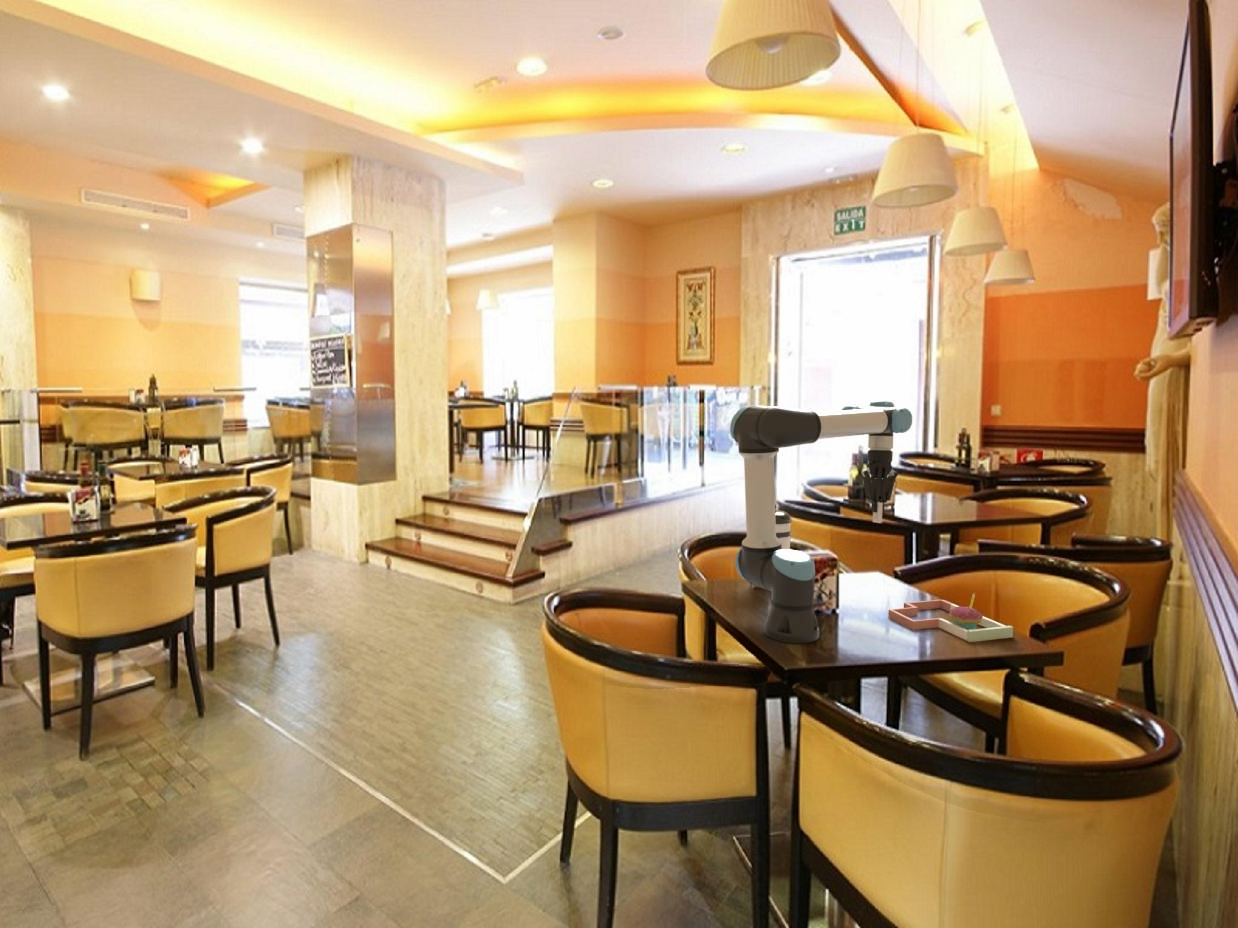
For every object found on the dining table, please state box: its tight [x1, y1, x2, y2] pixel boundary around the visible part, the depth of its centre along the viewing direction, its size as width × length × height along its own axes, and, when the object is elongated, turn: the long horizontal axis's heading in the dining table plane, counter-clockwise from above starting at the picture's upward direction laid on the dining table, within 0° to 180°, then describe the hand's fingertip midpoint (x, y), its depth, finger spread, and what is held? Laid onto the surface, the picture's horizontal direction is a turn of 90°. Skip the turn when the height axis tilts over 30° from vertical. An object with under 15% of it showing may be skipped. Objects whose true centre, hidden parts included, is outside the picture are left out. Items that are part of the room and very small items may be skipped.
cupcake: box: [948, 591, 984, 630], centre depth 199 cm, size 9×8×12 cm
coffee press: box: [749, 504, 793, 590], centre depth 239 cm, size 17×16×30 cm
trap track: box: [887, 599, 1014, 643], centre depth 205 cm, size 23×28×3 cm
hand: (877, 522), depth 223 cm, fingers closed
